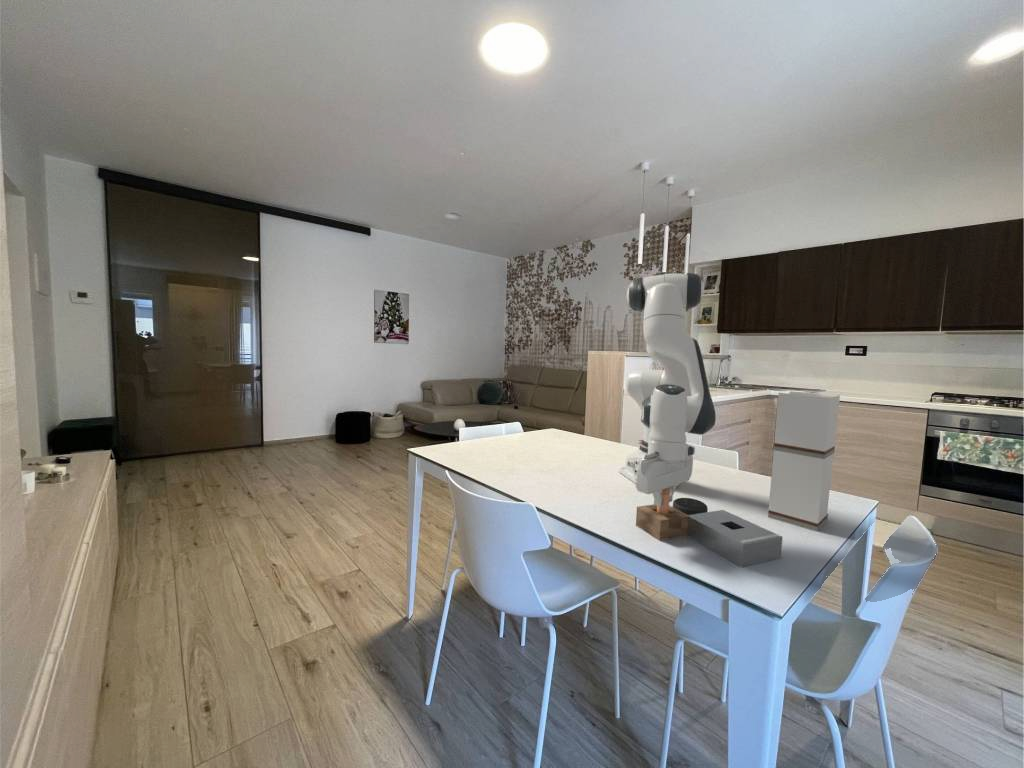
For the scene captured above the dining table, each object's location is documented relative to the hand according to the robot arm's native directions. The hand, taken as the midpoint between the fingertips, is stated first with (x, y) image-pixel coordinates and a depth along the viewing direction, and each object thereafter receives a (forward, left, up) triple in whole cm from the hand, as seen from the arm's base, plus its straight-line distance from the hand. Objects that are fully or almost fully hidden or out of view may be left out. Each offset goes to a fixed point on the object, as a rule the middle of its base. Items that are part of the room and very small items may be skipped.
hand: (663, 503), depth 105 cm
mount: (0, 0, -7) cm, 7 cm away
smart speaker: (-5, +14, -8) cm, 17 cm away
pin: (0, 0, -7) cm, 7 cm away
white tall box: (+6, +42, -7) cm, 43 cm away
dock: (+12, +10, -7) cm, 17 cm away
